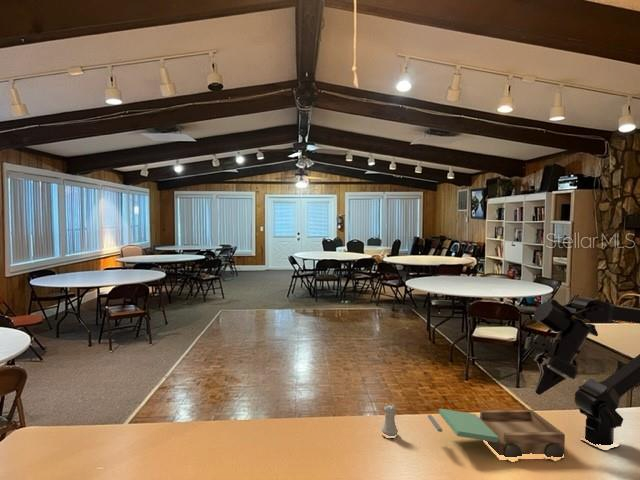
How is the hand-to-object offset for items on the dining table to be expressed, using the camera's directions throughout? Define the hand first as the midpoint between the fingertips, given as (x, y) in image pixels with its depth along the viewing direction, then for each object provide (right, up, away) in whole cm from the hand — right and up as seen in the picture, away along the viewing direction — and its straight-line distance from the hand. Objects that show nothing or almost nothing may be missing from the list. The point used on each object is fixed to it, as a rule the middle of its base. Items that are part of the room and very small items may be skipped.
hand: (537, 393), depth 107 cm
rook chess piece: (-37, -13, +4) cm, 39 cm away
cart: (-5, -13, 0) cm, 14 cm away
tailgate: (-13, -9, 0) cm, 16 cm away
